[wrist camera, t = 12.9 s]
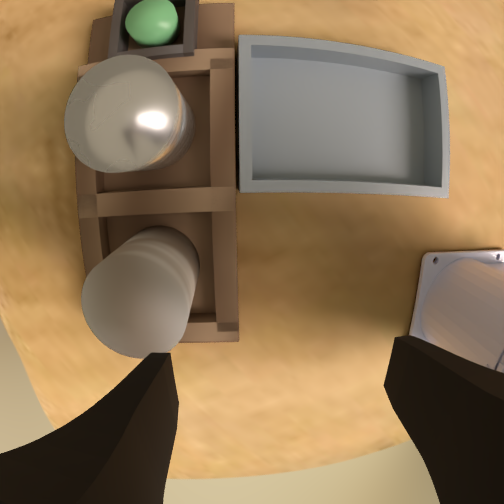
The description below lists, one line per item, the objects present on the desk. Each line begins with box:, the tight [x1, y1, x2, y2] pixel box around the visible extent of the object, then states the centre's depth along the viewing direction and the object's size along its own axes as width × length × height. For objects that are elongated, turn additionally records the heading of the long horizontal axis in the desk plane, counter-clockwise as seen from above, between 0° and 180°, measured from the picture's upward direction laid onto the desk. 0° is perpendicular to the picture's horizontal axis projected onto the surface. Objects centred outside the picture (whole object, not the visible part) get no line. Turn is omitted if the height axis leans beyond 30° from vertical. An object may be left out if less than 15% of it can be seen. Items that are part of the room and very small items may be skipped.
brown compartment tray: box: [75, 0, 239, 358], centre depth 14 cm, size 8×20×7 cm, turn 1°
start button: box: [125, 0, 180, 49], centre depth 13 cm, size 3×3×2 cm
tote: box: [237, 35, 450, 198], centre depth 16 cm, size 12×8×2 cm
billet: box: [64, 55, 196, 173], centre depth 12 cm, size 4×4×6 cm
